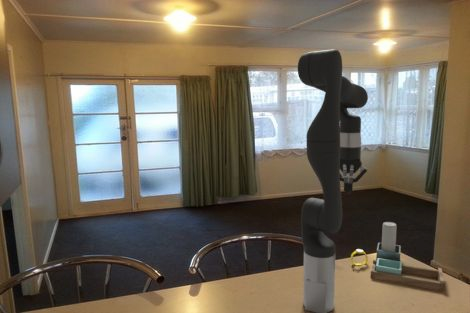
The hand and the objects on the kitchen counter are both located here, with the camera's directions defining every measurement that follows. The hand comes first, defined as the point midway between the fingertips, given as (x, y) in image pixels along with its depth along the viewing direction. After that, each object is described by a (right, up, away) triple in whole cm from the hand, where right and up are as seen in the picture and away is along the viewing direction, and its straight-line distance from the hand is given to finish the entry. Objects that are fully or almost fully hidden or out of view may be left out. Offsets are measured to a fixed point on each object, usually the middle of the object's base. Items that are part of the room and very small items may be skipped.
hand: (348, 192), depth 127 cm
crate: (+14, -29, -2) cm, 32 cm away
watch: (+6, -28, +7) cm, 30 cm away
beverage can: (+17, -24, +7) cm, 30 cm away
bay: (+19, -30, -4) cm, 35 cm away
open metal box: (+18, -28, +7) cm, 34 cm away
